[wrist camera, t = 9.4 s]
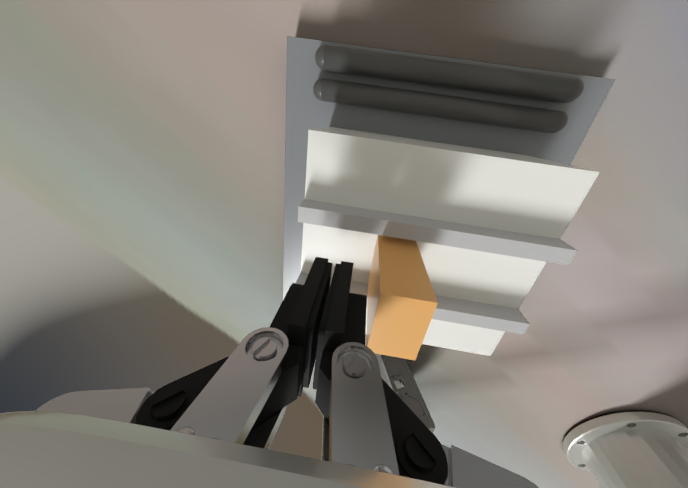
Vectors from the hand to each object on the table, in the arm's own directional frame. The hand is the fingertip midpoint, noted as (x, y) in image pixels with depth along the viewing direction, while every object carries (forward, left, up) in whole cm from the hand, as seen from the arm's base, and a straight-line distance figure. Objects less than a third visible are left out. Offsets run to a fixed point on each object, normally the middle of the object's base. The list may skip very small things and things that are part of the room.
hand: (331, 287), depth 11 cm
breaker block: (-4, 0, -11) cm, 12 cm away
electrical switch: (-7, +19, -11) cm, 23 cm away
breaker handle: (-3, 0, -3) cm, 4 cm away
